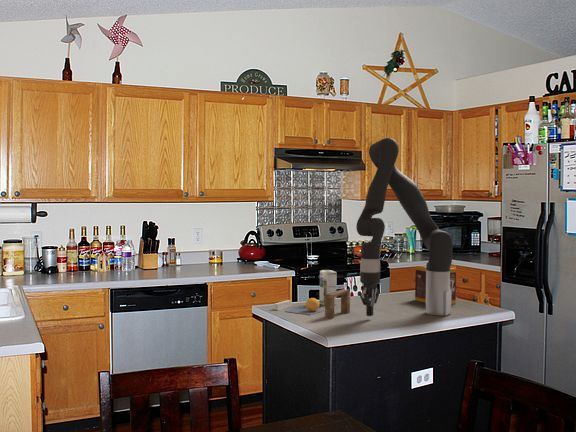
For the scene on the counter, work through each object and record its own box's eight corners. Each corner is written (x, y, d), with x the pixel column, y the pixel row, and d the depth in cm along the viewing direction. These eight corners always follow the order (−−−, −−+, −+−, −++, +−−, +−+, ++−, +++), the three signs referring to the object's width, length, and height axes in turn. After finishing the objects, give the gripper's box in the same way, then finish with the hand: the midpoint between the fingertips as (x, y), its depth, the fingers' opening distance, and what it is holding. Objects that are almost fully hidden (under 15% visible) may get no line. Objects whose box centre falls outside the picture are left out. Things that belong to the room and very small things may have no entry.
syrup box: (318, 303, 266) (319, 270, 266) (331, 302, 268) (331, 269, 268) (324, 305, 261) (324, 271, 260) (336, 305, 263) (337, 271, 262)
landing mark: (325, 310, 251) (325, 309, 251) (310, 315, 241) (310, 314, 241) (301, 307, 258) (301, 306, 258) (284, 311, 248) (284, 311, 248)
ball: (308, 303, 253) (316, 313, 251) (300, 304, 249) (308, 315, 246) (316, 294, 251) (324, 304, 249) (308, 295, 246) (316, 306, 244)
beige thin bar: (291, 306, 260) (291, 300, 259) (278, 310, 251) (278, 304, 251) (287, 305, 261) (287, 300, 261) (274, 309, 252) (274, 303, 252)
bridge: (349, 312, 247) (350, 289, 246) (331, 318, 235) (331, 295, 234) (343, 311, 248) (343, 289, 248) (324, 318, 236) (325, 294, 236)
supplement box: (437, 306, 262) (438, 269, 261) (414, 300, 275) (415, 265, 275) (456, 303, 267) (456, 268, 266) (432, 298, 280) (433, 264, 280)
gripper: (371, 273, 225) (370, 320, 226) (386, 269, 236) (386, 314, 237) (353, 271, 229) (352, 317, 230) (369, 267, 240) (368, 311, 241)
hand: (369, 315), depth 233 cm, fingers closed
